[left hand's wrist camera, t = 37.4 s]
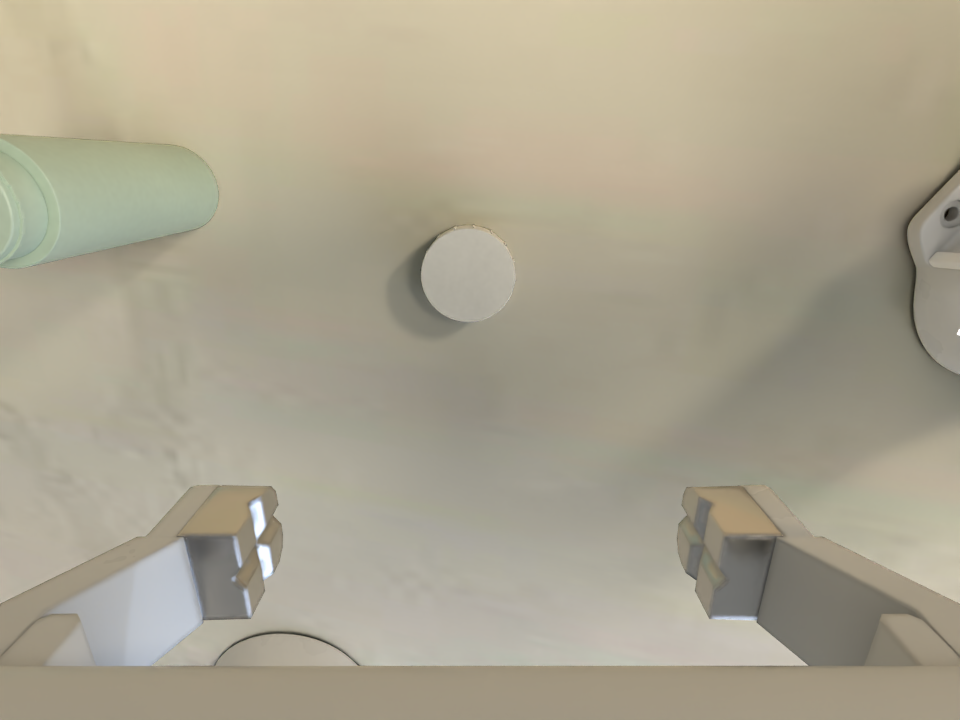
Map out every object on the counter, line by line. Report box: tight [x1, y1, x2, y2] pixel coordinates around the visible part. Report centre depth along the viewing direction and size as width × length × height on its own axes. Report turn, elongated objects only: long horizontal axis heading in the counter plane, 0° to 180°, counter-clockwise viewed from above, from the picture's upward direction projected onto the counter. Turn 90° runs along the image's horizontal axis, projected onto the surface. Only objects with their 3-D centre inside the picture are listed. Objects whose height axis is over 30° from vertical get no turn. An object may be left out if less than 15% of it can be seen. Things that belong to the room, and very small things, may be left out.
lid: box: [420, 224, 516, 322], centre depth 34 cm, size 6×6×2 cm
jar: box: [0, 134, 219, 269], centre depth 26 cm, size 5×5×15 cm
